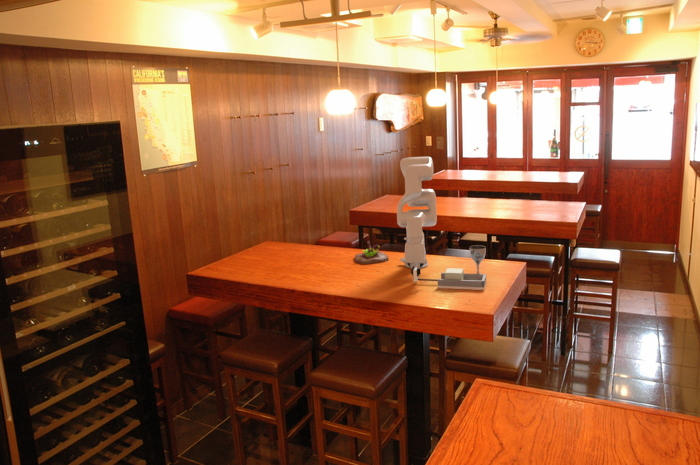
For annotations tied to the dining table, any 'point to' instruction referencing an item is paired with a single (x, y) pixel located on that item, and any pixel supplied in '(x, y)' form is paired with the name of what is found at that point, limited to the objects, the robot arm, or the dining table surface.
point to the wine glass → (477, 254)
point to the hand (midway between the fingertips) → (416, 275)
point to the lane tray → (464, 282)
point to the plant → (371, 256)
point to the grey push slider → (449, 274)
